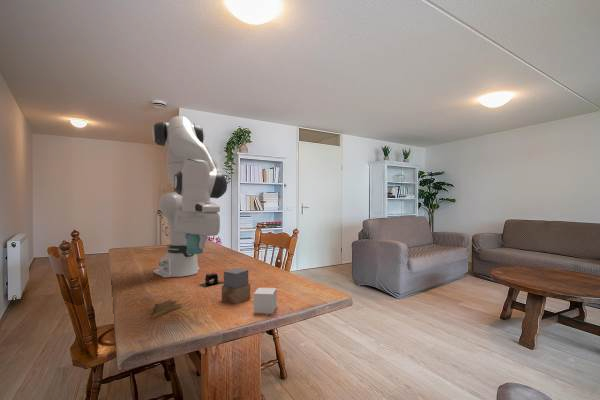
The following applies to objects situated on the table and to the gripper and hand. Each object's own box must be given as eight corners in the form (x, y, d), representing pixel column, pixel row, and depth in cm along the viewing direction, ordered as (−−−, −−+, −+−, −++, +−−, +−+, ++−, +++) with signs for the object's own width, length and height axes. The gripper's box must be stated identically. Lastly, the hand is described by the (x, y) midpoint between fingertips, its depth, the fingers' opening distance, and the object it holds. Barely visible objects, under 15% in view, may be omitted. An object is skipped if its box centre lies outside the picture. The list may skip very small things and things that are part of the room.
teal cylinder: (183, 253, 92) (184, 235, 92) (196, 251, 96) (196, 233, 96) (193, 254, 89) (193, 236, 89) (205, 252, 93) (206, 235, 93)
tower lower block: (221, 300, 96) (221, 285, 96) (236, 294, 102) (236, 281, 102) (236, 304, 92) (236, 289, 92) (250, 297, 98) (250, 283, 98)
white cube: (276, 306, 90) (276, 288, 90) (272, 314, 84) (272, 294, 84) (258, 305, 90) (258, 287, 90) (253, 313, 84) (253, 293, 84)
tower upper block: (223, 285, 96) (223, 271, 96) (235, 281, 101) (235, 268, 101) (236, 288, 93) (236, 273, 93) (248, 284, 98) (248, 270, 98)
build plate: (220, 280, 122) (220, 270, 122) (229, 283, 117) (229, 273, 117) (193, 286, 113) (193, 275, 113) (201, 290, 108) (201, 278, 108)
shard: (151, 320, 80) (151, 314, 80) (135, 315, 84) (135, 309, 84) (182, 307, 90) (182, 302, 90) (167, 303, 93) (167, 298, 93)
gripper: (169, 205, 96) (168, 245, 95) (207, 206, 84) (206, 251, 84) (185, 205, 101) (184, 243, 101) (223, 206, 90) (222, 249, 90)
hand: (195, 247), depth 92 cm, fingers closed on teal cylinder, 5 cm apart
